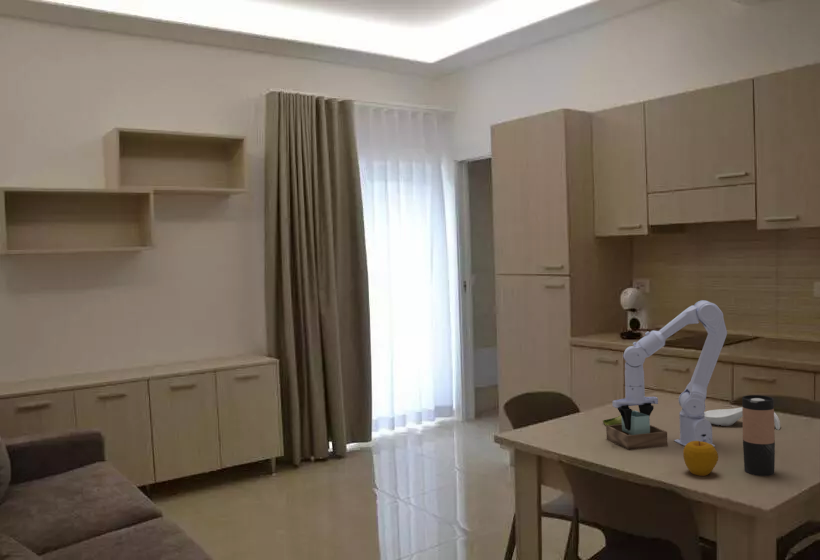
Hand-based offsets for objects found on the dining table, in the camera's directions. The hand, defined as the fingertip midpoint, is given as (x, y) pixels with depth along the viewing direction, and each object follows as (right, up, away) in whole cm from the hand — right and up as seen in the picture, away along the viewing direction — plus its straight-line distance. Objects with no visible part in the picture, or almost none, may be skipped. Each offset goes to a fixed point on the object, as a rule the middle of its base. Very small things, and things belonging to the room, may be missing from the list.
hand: (636, 428), depth 219 cm
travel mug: (+23, -5, -32) cm, 39 cm away
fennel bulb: (+8, 0, +23) cm, 24 cm away
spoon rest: (+40, -3, +16) cm, 43 cm away
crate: (0, -5, 0) cm, 5 cm away
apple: (+7, -6, -31) cm, 32 cm away
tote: (0, -2, 0) cm, 2 cm away
